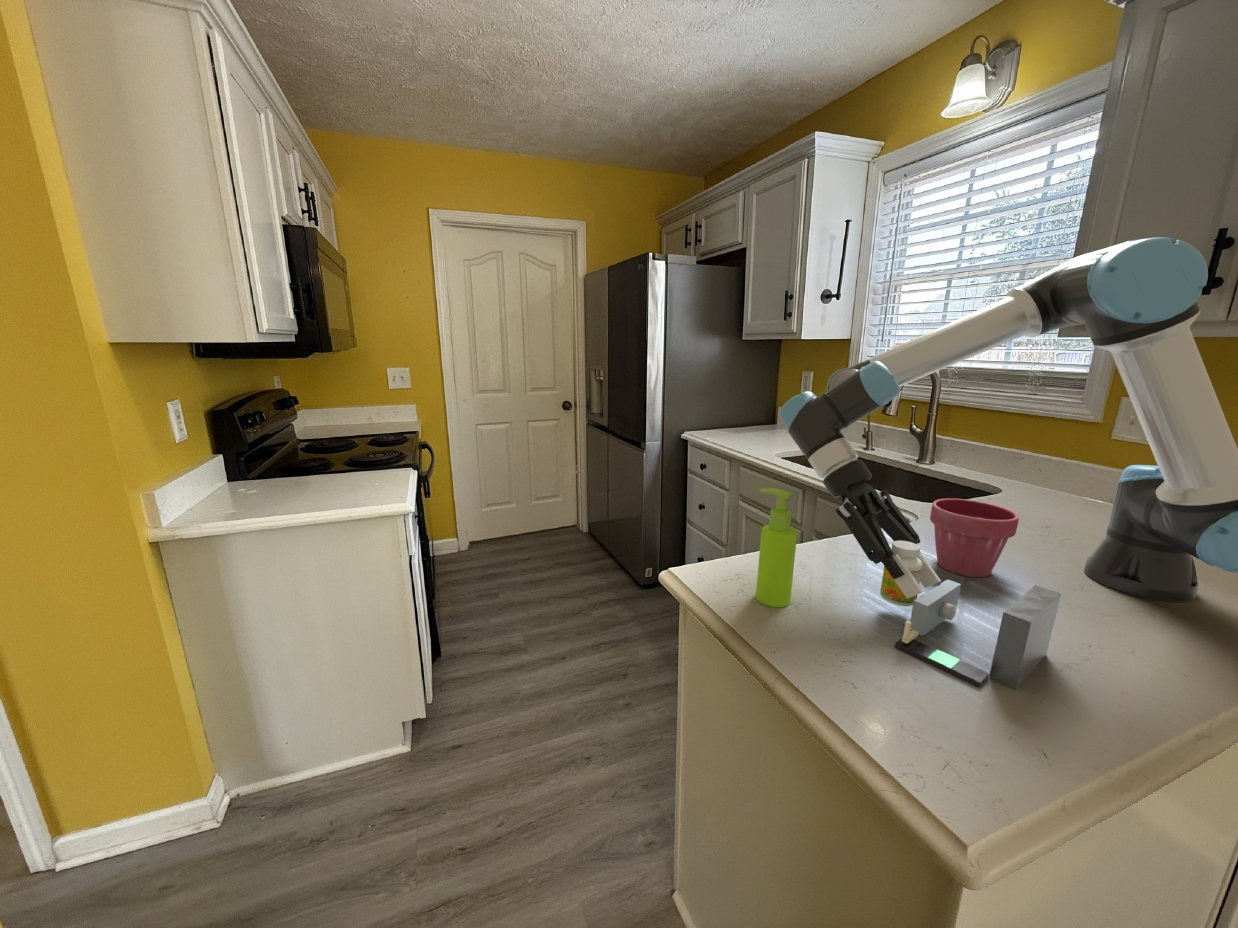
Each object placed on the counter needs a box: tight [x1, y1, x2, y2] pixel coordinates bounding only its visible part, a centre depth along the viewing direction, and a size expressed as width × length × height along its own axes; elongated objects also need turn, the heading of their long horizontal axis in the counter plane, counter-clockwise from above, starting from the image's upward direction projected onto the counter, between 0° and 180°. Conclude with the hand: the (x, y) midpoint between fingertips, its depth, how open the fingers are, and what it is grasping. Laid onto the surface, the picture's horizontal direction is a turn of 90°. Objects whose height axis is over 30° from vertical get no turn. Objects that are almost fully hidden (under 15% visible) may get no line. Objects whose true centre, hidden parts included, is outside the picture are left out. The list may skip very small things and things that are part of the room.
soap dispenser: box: [755, 487, 798, 608], centre depth 87 cm, size 6×7×20 cm
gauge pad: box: [901, 579, 962, 644], centre depth 78 cm, size 4×16×5 cm, turn 126°
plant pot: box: [929, 498, 1020, 578], centre depth 101 cm, size 14×14×13 cm
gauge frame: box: [894, 584, 1062, 690], centre depth 73 cm, size 14×16×10 cm
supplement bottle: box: [879, 541, 922, 607], centre depth 83 cm, size 5×5×10 cm
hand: (924, 589), depth 80 cm, fingers closed on supplement bottle, 5 cm apart
